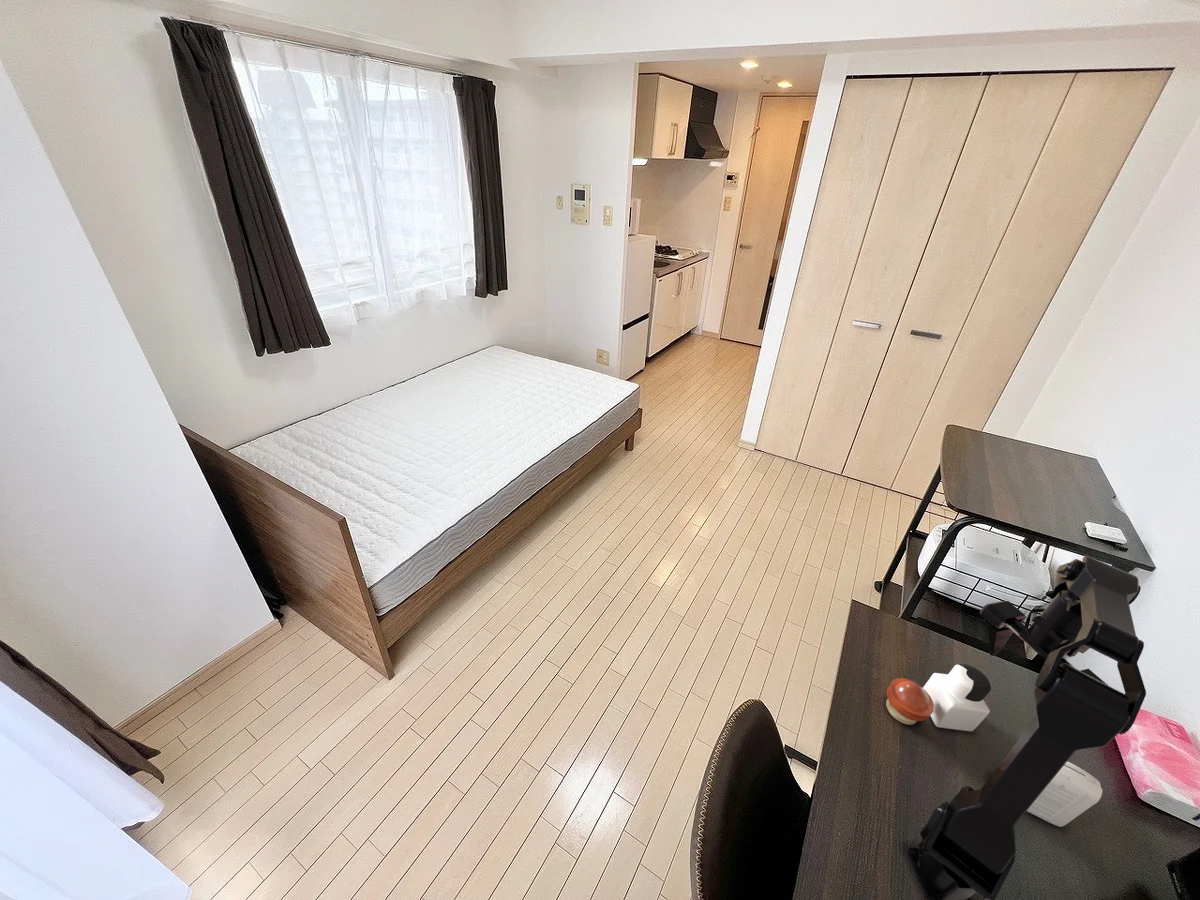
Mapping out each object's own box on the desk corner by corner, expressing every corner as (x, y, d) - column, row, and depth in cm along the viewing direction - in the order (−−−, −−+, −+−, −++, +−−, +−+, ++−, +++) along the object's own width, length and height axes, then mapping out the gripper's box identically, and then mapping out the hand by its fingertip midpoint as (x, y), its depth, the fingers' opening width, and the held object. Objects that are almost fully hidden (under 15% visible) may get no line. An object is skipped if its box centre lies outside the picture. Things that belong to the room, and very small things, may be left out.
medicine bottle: (953, 697, 98) (982, 661, 92) (973, 732, 92) (1005, 696, 86) (918, 692, 99) (944, 656, 92) (935, 727, 93) (965, 691, 86)
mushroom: (931, 731, 92) (948, 710, 88) (892, 729, 92) (908, 707, 88) (910, 693, 98) (925, 672, 95) (873, 691, 98) (887, 669, 94)
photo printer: (1059, 807, 82) (1105, 772, 76) (1065, 833, 79) (1113, 798, 73) (989, 772, 86) (1026, 736, 80) (992, 795, 83) (1031, 760, 77)
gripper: (1164, 663, 75) (1101, 717, 83) (1045, 574, 90) (1002, 628, 98) (1113, 675, 72) (1053, 731, 80) (999, 582, 87) (959, 636, 95)
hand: (1015, 676), depth 89 cm, fingers open, 9 cm apart
